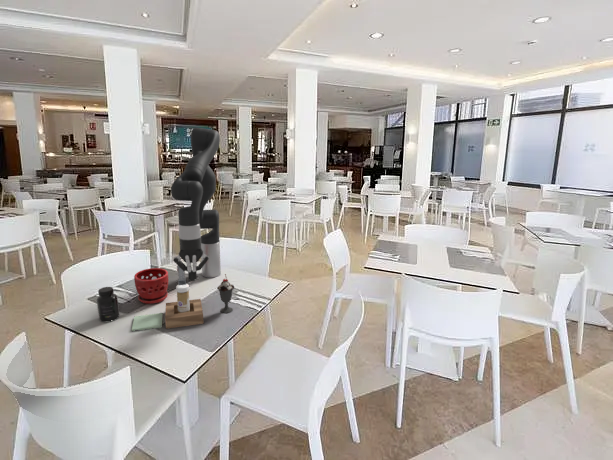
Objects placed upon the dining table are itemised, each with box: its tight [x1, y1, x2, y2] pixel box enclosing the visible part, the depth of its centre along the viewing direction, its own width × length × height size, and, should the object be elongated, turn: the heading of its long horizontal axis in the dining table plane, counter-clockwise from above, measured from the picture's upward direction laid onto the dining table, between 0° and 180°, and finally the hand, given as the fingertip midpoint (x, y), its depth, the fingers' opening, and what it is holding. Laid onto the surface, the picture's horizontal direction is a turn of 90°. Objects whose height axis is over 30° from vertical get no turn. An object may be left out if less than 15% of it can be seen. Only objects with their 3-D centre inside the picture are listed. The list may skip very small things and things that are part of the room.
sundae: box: [217, 273, 235, 314], centre depth 143 cm, size 7×7×15 cm
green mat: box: [131, 312, 164, 332], centre depth 134 cm, size 10×10×1 cm
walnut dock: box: [164, 271, 204, 330], centre depth 139 cm, size 19×13×16 cm
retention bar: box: [176, 265, 187, 286], centre depth 137 cm, size 17×3×2 cm, turn 20°
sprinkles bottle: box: [175, 283, 190, 313], centre depth 136 cm, size 5×5×14 cm
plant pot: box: [133, 267, 169, 305], centre depth 151 cm, size 13×13×12 cm
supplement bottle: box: [96, 286, 120, 322], centre depth 135 cm, size 7×7×12 cm
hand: (192, 280), depth 134 cm, fingers closed
